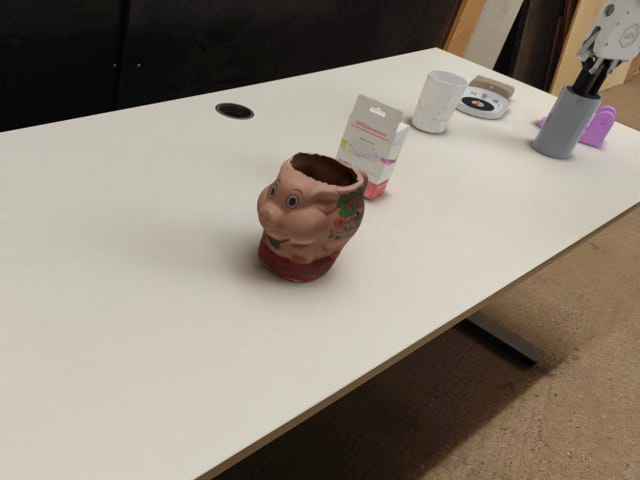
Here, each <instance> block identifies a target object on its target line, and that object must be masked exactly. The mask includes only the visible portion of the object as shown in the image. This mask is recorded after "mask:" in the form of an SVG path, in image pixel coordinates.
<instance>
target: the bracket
mask: <svg viewBox="0 0 640 480" xmlns="http://www.w3.org/2000/svg"><path fill="white" fill-rule="evenodd" d="M616 115H617V111H616V109H615V107H613V106H611V105H603V106H601V107H600V108H598V109H597V111H596V112H595V114H594V116H593V117H592V119H591V121H590V123H589V124H588V126H587V128H586V129H585V131H584V133H583V134H582V136H581V138H580V139H579V141H578V143H579V142H580V143H582V144H585V145H589V146H592V147H595V148H597V149H599V148H600V147H601V145H602V143H603V142H604V141H605V139H606V137H607V135H608V134H609V132H610V130H611V129H612V127H613V126H614V125H615V119H616ZM546 118H547V116H542V117H541V119H540V121H539V122H538V126H539V128H541V127H542V125H543V123H544V122H545V120H546Z"/></svg>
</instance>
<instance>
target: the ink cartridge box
mask: <svg viewBox="0 0 640 480" xmlns="http://www.w3.org/2000/svg"><path fill="white" fill-rule="evenodd" d="M372 108H373V109H372ZM378 108H379V109H380V111H381V112H383V113H381V112H378V111H376V110H374V109H378ZM384 113H385V114H384ZM403 117H404V111H403V110H400V109H398V108H395V107H394V106H391V105H389V104H386V103H384V102H382V101H380V100H378V99H375V98H372V97H370V96H367V95H365V94H364V93H359V94H358V95H357V98H356V101H355V104H354V105H353V108H352V111H351V112H350V114H349V116H348V120H347V122H346V126H345V130H344V132H343V135H342V138H341V140H340V144H339V147H338V149H337V152H336V156H335V158H336V159H338V160H340V161H342V162H343V163H345V164H347V165H349V166H351V167H352V168H354V169H355V170H362V171H364V172H365V173H366V174H367V176H368V185H367V188H366V191H365V193H364V195H363V197H364V199H365V198H366V199H367V200H370V201H371V200H373V199H375V198H376V197H378V196H380V195H382V194H384V193H385V190H386V188H387V185H388V183H389V180H390V178H391V175H392V173H393V170H394V168H395V165H396V163H397V160H398V158H399V155H400V153H401V150H402V148H403V146H404V143H405V140H406V137H407V135H408V132H409V130H410V127H411V126H410V125H409V124H406V123H405V122H402V119H403Z"/></svg>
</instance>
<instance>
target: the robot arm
mask: <svg viewBox="0 0 640 480" xmlns="http://www.w3.org/2000/svg"><path fill="white" fill-rule="evenodd" d="M639 53H640V0H607V1H606V2H605V4H604V5H603V6H602V8H601V9H600V11H599V12H598V14H597V15H596V17H595V18H594V20H593V22H592V24H591V25H590V27H589V29H588V31H587V32H586V34H585V35H584V38H583V41H582V43H581V48H579V50H578V51H577V52H576V54H575V56H576V57H577V58H578V59H579V60H580V63H581V64H580V69H581V70H580V71H579V73H578V75H577V76H576V79H575V81H574V83H573V84H572V85H573V86H572V90H573V91H575V92H577V93H578V94H580V95H585V94H586V92H587V90H588V89H589V87H590V85H591V84H592V82H593V80H594V78H595V77H596V74H594V73H595V72H596V70H597V68H598V67H599V65H600V63H601V62H602V63H604V64H605V66H604V67H603V69H602V71H601V73H600V74H599V76H598V78H597V79H596V81H595V83H594V85H593V86H592V88H591V90H590V92H589V94H590V95H592V96H595V95H596V94H597V93H599V91H600V89H601V87H602V86H603V84H604V82H605V80H606V79H607V77H608V76H610V75H611V74H612V73H613V72H614V70H615V69H616V68H617V67H619V66H620V65H622V64H625V63H628V62H629V61H631V60H633V59H635V58H636V57H637V56H638V55H639Z"/></svg>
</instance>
